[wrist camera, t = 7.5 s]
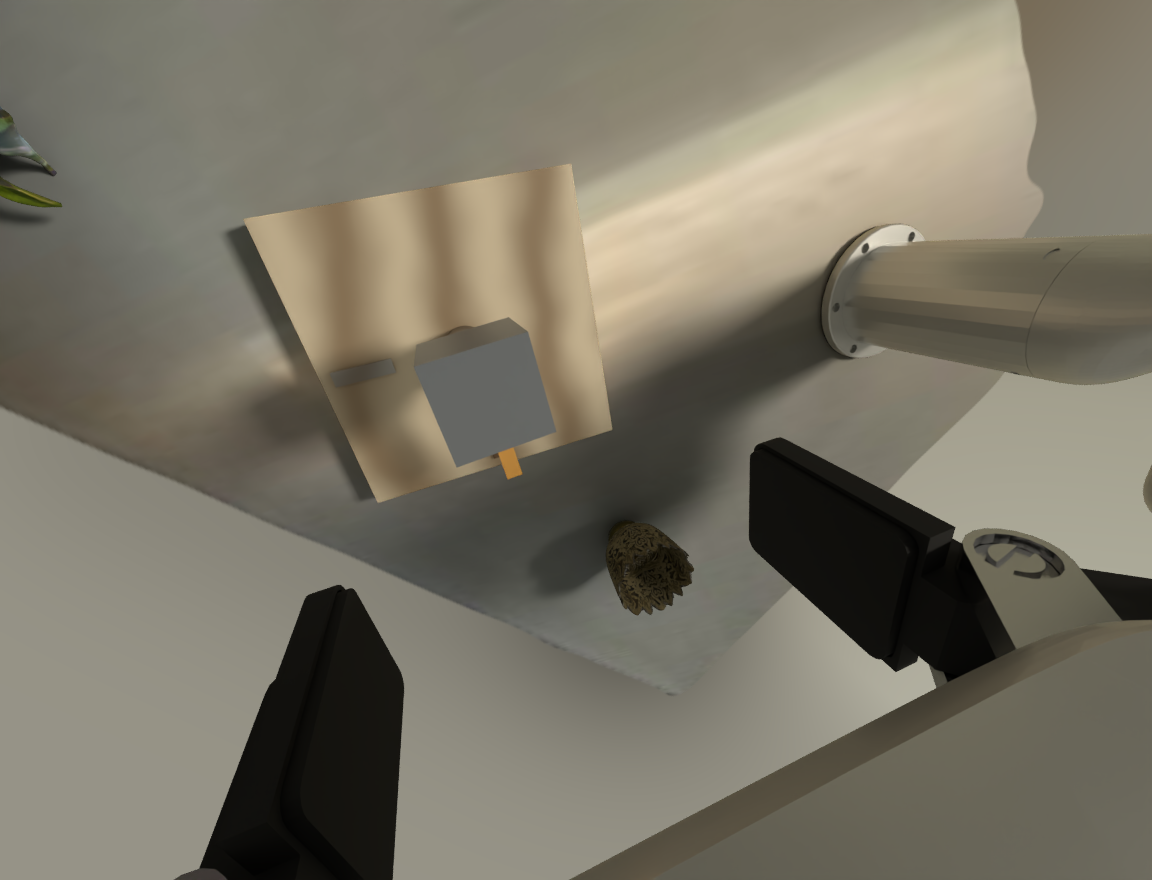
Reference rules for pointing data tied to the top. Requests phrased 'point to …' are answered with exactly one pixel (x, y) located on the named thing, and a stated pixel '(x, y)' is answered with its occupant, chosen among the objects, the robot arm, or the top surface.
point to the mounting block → (437, 308)
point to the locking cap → (485, 392)
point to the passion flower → (9, 142)
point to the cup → (646, 566)
